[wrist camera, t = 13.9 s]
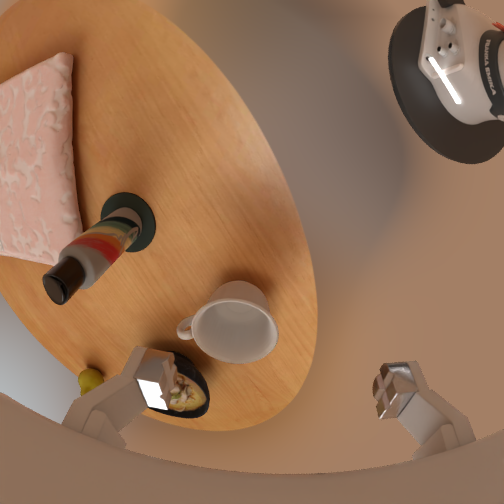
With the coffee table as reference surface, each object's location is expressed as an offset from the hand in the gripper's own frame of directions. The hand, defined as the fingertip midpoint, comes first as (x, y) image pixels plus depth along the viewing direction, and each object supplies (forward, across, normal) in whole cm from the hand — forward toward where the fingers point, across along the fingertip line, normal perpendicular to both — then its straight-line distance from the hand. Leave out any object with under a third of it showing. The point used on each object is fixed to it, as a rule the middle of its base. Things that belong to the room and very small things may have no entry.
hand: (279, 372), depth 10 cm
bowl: (+31, +18, +38) cm, 52 cm away
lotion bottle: (+31, +23, +7) cm, 39 cm away
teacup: (+32, +6, +19) cm, 38 cm away
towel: (+32, +48, -4) cm, 57 cm away
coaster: (+32, +23, +7) cm, 40 cm away
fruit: (+30, +41, +47) cm, 69 cm away
